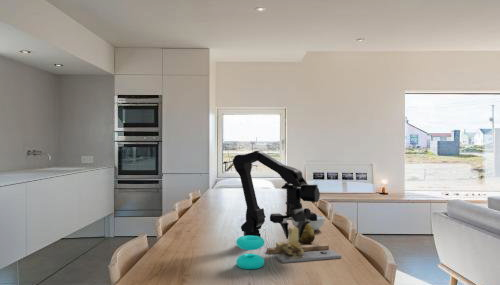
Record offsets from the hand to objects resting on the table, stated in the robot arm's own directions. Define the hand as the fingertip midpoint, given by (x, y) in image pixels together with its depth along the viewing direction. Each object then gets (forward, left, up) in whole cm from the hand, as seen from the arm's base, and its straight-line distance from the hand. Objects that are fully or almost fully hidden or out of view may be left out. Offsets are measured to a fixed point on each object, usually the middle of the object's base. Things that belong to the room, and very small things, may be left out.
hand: (293, 238), depth 155 cm
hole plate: (+2, -10, -5) cm, 11 cm away
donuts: (-22, -14, -5) cm, 27 cm away
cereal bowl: (+21, +34, -5) cm, 40 cm away
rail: (+2, -4, -5) cm, 7 cm away
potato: (+11, +14, -5) cm, 19 cm away
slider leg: (0, -3, -4) cm, 5 cm away
